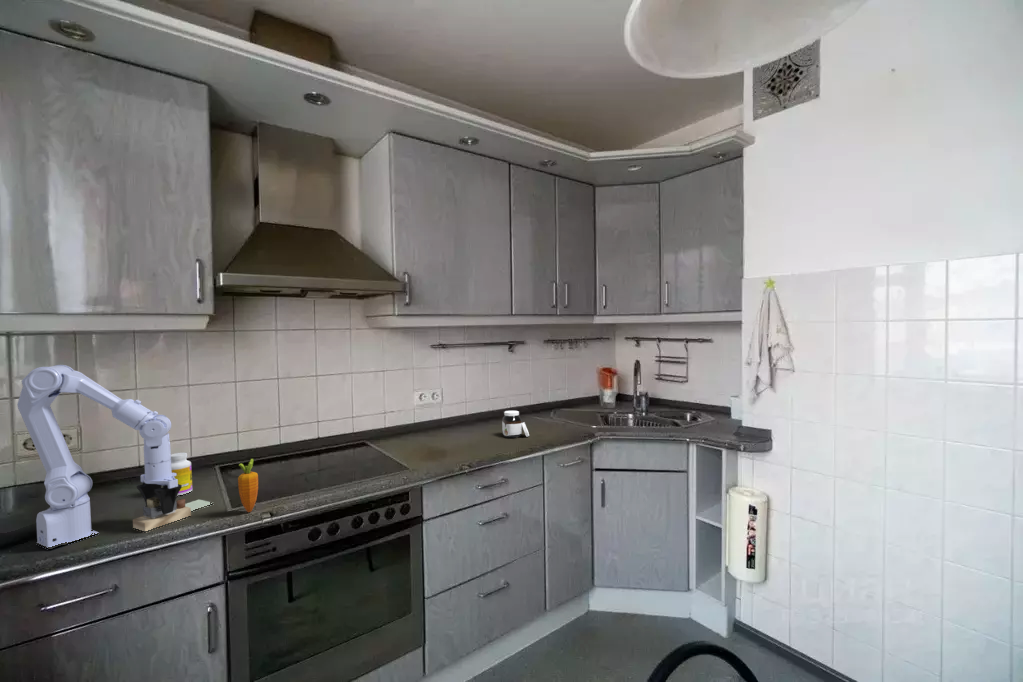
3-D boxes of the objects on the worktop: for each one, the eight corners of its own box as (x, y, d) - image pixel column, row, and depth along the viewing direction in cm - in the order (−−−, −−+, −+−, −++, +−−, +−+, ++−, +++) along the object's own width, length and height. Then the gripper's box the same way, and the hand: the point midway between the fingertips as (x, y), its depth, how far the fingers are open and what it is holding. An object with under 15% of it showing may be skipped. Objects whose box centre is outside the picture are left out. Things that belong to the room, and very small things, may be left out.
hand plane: (145, 532, 118) (144, 515, 118) (133, 528, 120) (132, 511, 120) (191, 516, 128) (190, 500, 128) (179, 513, 130) (178, 497, 130)
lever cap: (151, 517, 120) (150, 501, 120) (143, 515, 122) (142, 499, 122) (176, 509, 125) (176, 494, 125) (168, 507, 127) (167, 492, 127)
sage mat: (186, 513, 130) (186, 512, 130) (171, 509, 133) (171, 508, 133) (213, 504, 137) (213, 502, 137) (199, 500, 140) (199, 499, 140)
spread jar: (500, 435, 216) (499, 411, 215) (521, 432, 220) (521, 408, 220) (511, 440, 205) (510, 414, 204) (533, 437, 209) (532, 412, 209)
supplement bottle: (195, 493, 147) (193, 453, 147) (170, 499, 142) (168, 458, 142) (189, 488, 152) (187, 450, 151) (164, 494, 147) (163, 454, 146)
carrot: (240, 517, 126) (238, 463, 125) (238, 512, 130) (236, 459, 129) (260, 513, 129) (258, 460, 128) (258, 507, 133) (256, 456, 132)
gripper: (189, 459, 123) (191, 509, 124) (160, 454, 130) (162, 501, 130) (159, 467, 117) (162, 519, 117) (130, 461, 124) (133, 510, 124)
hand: (160, 510), depth 123 cm, fingers open, 7 cm apart
